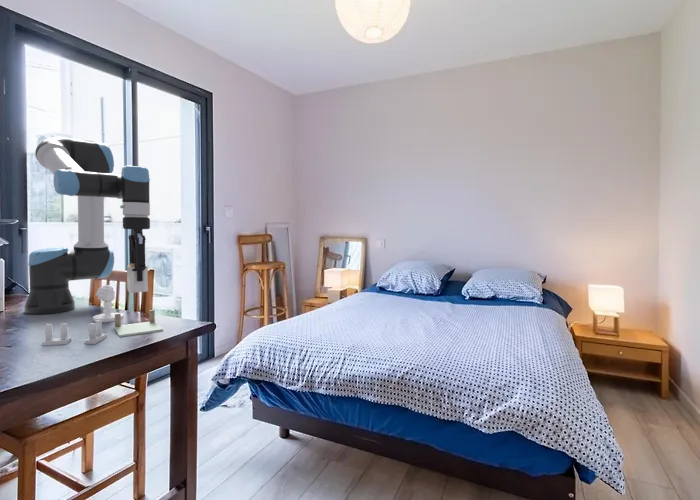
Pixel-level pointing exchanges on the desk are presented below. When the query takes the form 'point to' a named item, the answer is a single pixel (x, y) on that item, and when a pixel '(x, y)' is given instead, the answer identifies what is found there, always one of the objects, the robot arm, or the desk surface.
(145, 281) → the connector
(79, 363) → the desk surface
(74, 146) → the robot arm
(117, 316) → the holder
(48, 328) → the clip
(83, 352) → the desk surface
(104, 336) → the clip
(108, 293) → the figurine
